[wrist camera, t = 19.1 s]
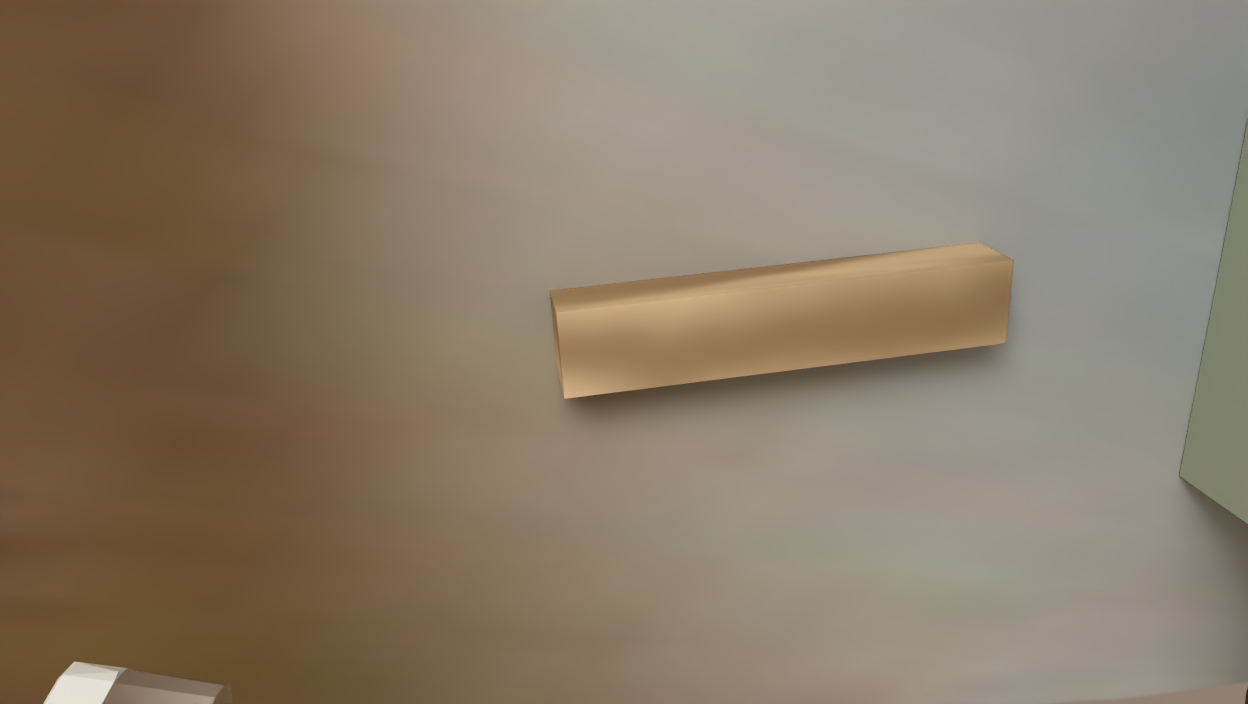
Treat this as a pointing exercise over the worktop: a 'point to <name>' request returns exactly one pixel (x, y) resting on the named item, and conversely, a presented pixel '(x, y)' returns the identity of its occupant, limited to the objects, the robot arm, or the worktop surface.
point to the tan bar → (779, 318)
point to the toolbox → (1225, 373)
